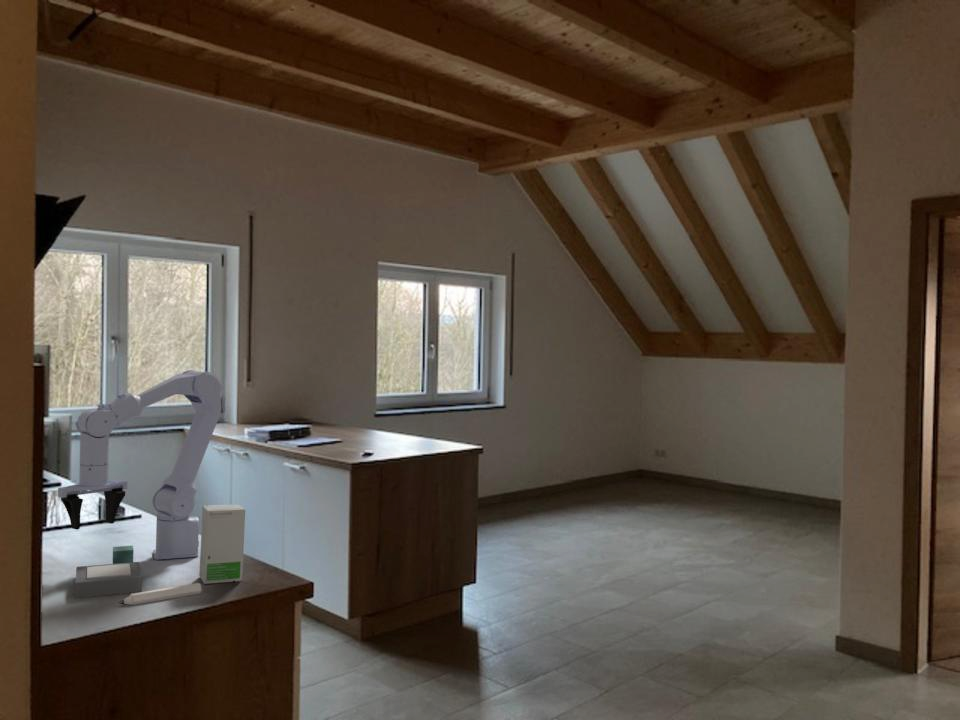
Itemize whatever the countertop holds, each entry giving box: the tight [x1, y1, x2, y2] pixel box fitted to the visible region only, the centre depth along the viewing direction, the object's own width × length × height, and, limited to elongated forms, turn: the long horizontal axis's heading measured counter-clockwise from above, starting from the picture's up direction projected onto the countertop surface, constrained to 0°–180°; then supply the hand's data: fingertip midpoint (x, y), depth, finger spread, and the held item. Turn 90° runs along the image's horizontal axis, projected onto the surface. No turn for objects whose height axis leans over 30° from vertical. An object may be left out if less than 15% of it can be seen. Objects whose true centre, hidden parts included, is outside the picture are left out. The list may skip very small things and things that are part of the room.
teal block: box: [112, 545, 134, 564], centre depth 175 cm, size 4×4×5 cm
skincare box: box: [198, 504, 246, 585], centre depth 172 cm, size 8×7×16 cm
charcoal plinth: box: [74, 561, 143, 599], centre depth 164 cm, size 12×12×3 cm
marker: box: [117, 582, 202, 606], centre depth 158 cm, size 3×2×16 cm
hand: (93, 525), depth 176 cm, fingers open, 7 cm apart
